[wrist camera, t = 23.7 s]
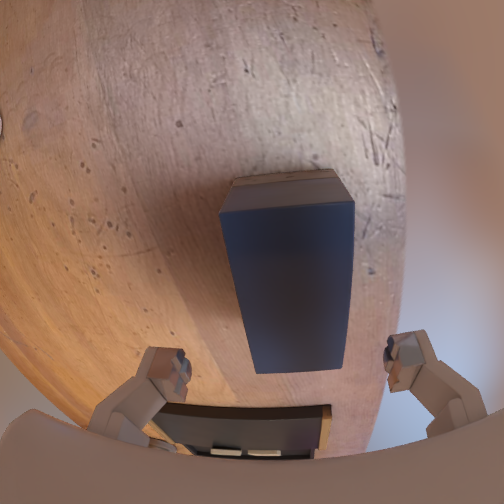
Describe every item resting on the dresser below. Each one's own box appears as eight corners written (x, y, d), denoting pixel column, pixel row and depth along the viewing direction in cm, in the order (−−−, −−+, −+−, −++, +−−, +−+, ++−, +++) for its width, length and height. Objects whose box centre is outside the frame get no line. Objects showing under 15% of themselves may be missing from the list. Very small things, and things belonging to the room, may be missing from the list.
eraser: (260, 320, 19) (255, 374, 15) (235, 177, 14) (217, 213, 10) (333, 315, 18) (342, 369, 15) (333, 168, 13) (355, 201, 10)
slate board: (138, 398, 29) (134, 410, 27) (331, 404, 25) (332, 419, 24) (171, 433, 34) (169, 443, 33) (325, 438, 31) (325, 449, 29)
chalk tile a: (210, 448, 30) (210, 453, 30) (240, 450, 30) (240, 455, 30) (214, 446, 34) (214, 451, 33) (241, 448, 34) (241, 452, 33)
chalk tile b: (247, 448, 31) (247, 453, 31) (277, 449, 31) (277, 454, 30) (254, 450, 34) (253, 455, 34) (280, 451, 33) (280, 455, 33)
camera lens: (137, 436, 38) (125, 472, 32) (160, 437, 36) (149, 478, 29) (161, 449, 41) (152, 484, 34) (185, 451, 39) (177, 488, 32)
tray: (180, 435, 34) (178, 441, 33) (314, 439, 31) (315, 446, 30) (195, 450, 38) (194, 455, 37) (313, 453, 35) (313, 459, 34)
